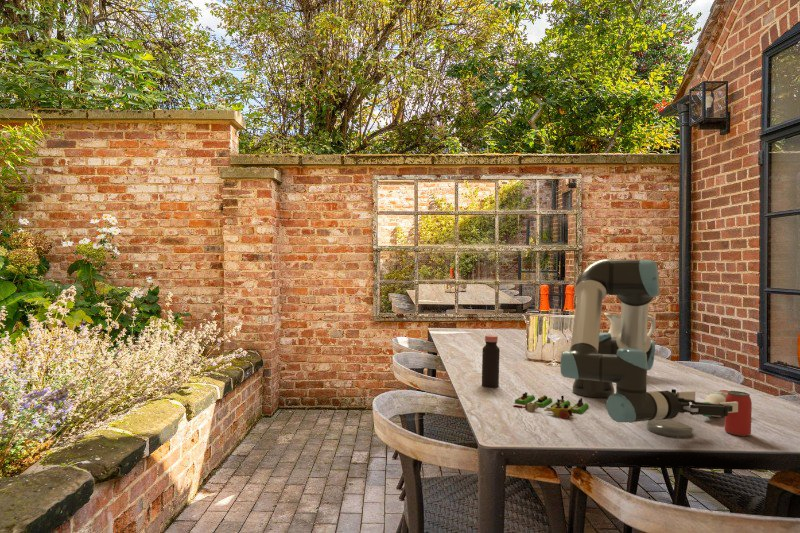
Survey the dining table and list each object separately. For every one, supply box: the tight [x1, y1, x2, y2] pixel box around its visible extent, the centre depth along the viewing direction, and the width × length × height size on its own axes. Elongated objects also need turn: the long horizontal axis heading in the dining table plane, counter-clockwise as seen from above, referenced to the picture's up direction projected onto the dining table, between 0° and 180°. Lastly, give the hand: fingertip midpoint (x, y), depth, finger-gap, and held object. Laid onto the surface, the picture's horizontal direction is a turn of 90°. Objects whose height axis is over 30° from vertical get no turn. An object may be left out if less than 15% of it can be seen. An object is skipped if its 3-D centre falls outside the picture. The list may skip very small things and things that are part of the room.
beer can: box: [724, 390, 753, 437], centre depth 158 cm, size 7×7×12 cm
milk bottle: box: [702, 388, 734, 418], centre depth 177 cm, size 8×8×20 cm
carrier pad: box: [646, 419, 693, 438], centre depth 159 cm, size 12×12×2 cm
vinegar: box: [481, 334, 500, 388], centre depth 215 cm, size 7×7×20 cm
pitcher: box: [603, 312, 657, 338], centre depth 248 cm, size 24×17×28 cm
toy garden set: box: [512, 391, 590, 420], centre depth 182 cm, size 23×19×5 cm
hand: (714, 401), depth 154 cm, fingers open, 13 cm apart
